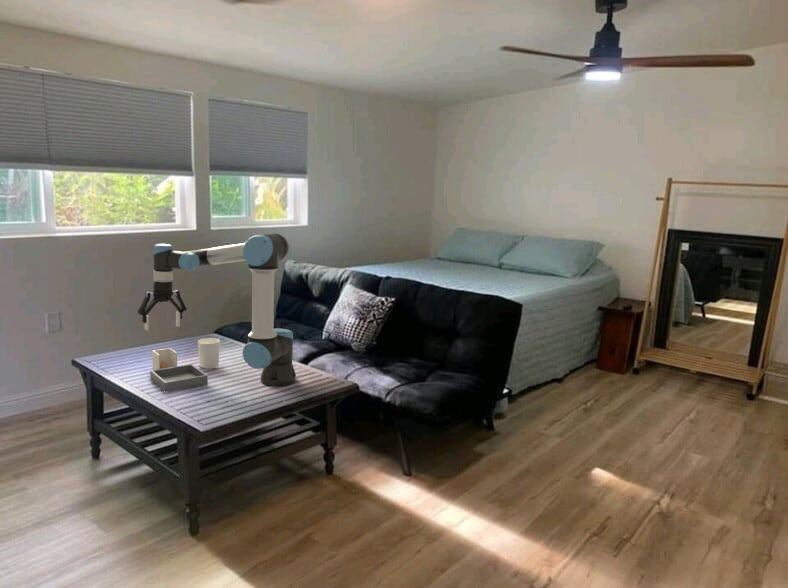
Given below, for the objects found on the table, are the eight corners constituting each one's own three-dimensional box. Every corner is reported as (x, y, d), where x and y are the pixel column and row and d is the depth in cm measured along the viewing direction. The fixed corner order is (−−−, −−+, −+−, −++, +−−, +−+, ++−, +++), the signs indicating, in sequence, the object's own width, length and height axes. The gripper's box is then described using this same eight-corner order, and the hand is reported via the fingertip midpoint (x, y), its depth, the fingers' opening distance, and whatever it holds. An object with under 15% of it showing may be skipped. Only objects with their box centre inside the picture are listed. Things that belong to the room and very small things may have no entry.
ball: (168, 368, 250) (168, 362, 250) (161, 369, 248) (161, 363, 248) (165, 367, 252) (165, 360, 252) (159, 368, 250) (158, 361, 250)
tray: (207, 384, 236) (207, 375, 235) (165, 392, 224) (164, 382, 224) (191, 372, 249) (191, 364, 248) (150, 379, 237) (150, 370, 237)
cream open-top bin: (177, 371, 249) (177, 352, 247) (158, 375, 244) (158, 355, 242) (170, 367, 255) (170, 348, 253) (152, 369, 249) (152, 350, 248)
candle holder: (193, 367, 256) (193, 342, 253) (205, 361, 265) (205, 336, 263) (212, 370, 253) (212, 344, 251) (224, 364, 263) (224, 339, 261)
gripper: (187, 277, 251) (186, 322, 255) (129, 280, 233) (129, 329, 237) (195, 280, 245) (193, 326, 250) (136, 283, 228) (136, 333, 232)
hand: (162, 328), depth 243 cm, fingers open, 13 cm apart
